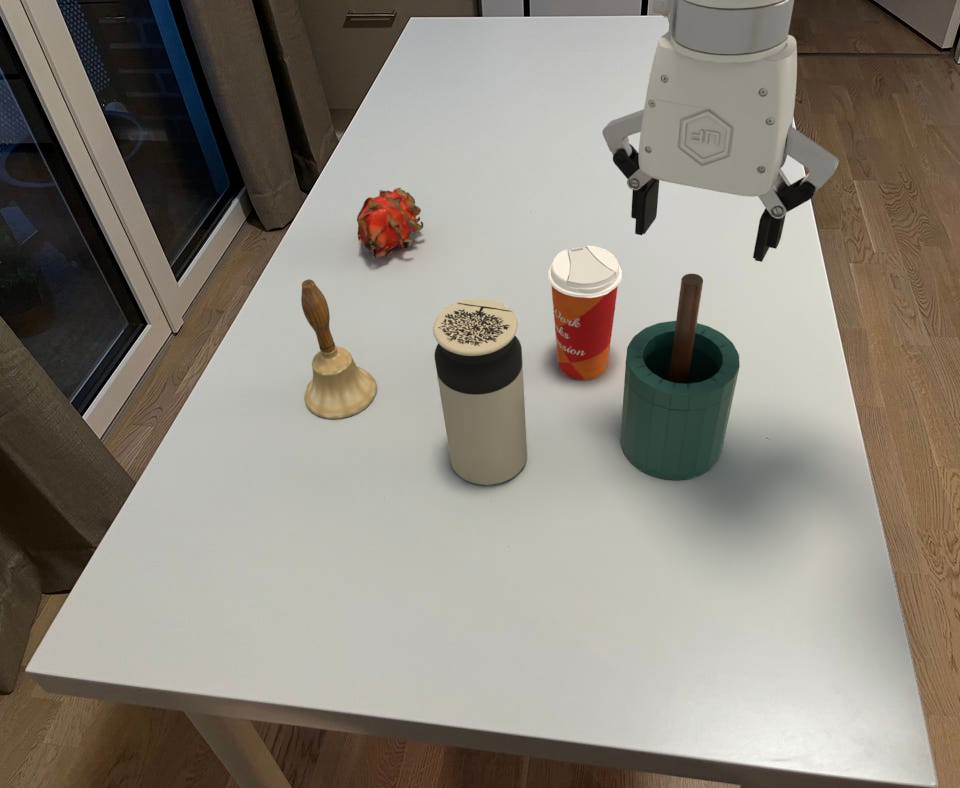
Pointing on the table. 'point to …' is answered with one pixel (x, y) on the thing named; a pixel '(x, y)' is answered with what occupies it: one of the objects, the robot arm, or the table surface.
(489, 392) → the travel mug
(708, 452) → the jar
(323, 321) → the hand bell
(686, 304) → the peg on round base
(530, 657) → the table surface
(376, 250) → the dragon fruit
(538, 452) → the table surface
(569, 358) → the paper cup
